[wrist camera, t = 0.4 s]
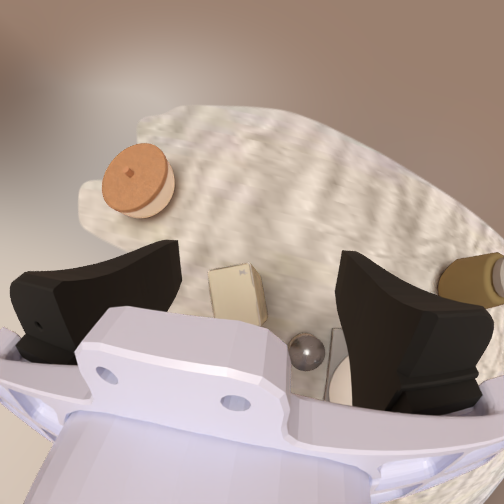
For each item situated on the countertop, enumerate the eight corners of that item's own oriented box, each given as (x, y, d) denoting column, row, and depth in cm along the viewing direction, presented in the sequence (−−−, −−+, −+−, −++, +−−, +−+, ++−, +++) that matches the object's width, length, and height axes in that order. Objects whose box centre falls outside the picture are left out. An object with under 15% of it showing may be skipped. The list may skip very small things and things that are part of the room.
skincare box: (229, 280, 38) (205, 266, 26) (261, 274, 37) (250, 258, 26) (237, 326, 36) (215, 334, 24) (268, 321, 36) (261, 327, 24)
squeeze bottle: (424, 300, 34) (505, 289, 16) (441, 253, 35) (517, 217, 17) (458, 322, 32) (539, 321, 15) (474, 277, 33) (551, 255, 16)
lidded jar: (133, 237, 41) (99, 219, 32) (122, 183, 43) (92, 159, 34) (192, 209, 41) (168, 183, 32) (175, 156, 43) (153, 125, 34)
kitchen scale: (412, 427, 30) (421, 434, 27) (317, 434, 32) (320, 444, 29) (429, 328, 33) (440, 329, 30) (332, 328, 35) (336, 330, 32)
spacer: (319, 365, 34) (322, 371, 30) (286, 363, 35) (286, 370, 31) (322, 333, 35) (326, 336, 31) (289, 332, 35) (290, 334, 32)
